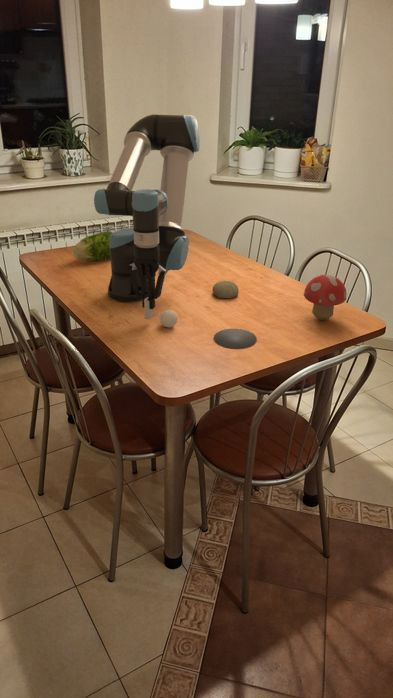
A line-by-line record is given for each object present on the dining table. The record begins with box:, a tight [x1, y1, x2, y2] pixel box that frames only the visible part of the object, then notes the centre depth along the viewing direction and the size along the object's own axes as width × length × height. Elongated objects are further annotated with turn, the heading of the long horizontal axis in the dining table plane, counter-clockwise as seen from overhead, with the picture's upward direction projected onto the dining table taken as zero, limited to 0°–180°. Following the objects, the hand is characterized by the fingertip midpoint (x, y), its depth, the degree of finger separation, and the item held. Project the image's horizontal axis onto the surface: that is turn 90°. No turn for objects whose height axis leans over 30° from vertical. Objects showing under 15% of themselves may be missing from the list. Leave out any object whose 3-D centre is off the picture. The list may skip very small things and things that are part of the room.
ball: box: [159, 309, 178, 328], centre depth 166 cm, size 6×6×6 cm
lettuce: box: [72, 230, 114, 262], centre depth 220 cm, size 12×21×11 cm, turn 129°
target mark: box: [213, 328, 258, 350], centre depth 160 cm, size 13×13×1 cm
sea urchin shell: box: [212, 280, 239, 299], centre depth 190 cm, size 9×8×8 cm
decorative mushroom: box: [303, 274, 347, 321], centre depth 169 cm, size 13×13×15 cm
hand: (148, 317), depth 167 cm, fingers closed
